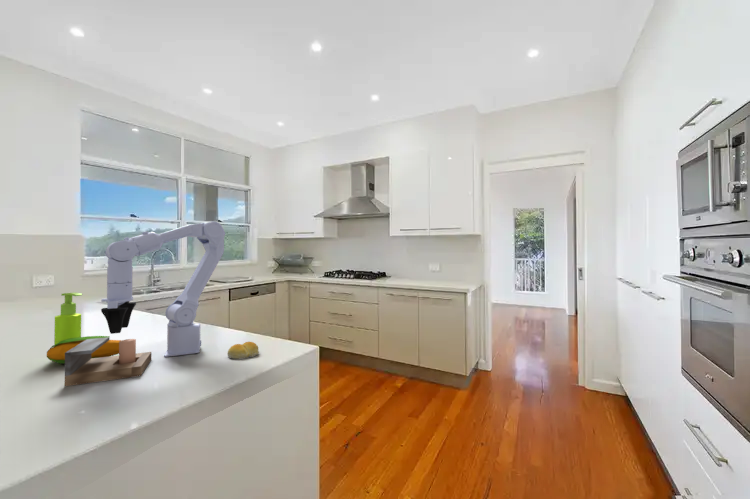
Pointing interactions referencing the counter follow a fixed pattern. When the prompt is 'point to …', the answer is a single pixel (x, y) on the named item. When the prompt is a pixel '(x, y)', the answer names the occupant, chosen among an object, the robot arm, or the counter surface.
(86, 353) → the socket station
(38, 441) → the counter surface
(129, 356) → the peg
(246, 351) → the bread roll
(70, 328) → the soap dispenser
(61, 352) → the corn
